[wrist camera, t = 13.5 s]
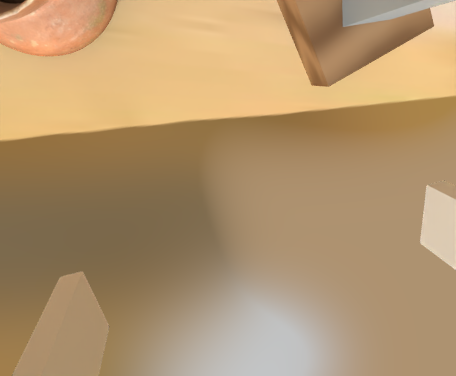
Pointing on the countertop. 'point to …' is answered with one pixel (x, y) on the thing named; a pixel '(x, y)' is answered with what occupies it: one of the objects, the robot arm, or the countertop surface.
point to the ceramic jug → (53, 24)
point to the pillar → (382, 9)
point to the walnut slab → (344, 37)
